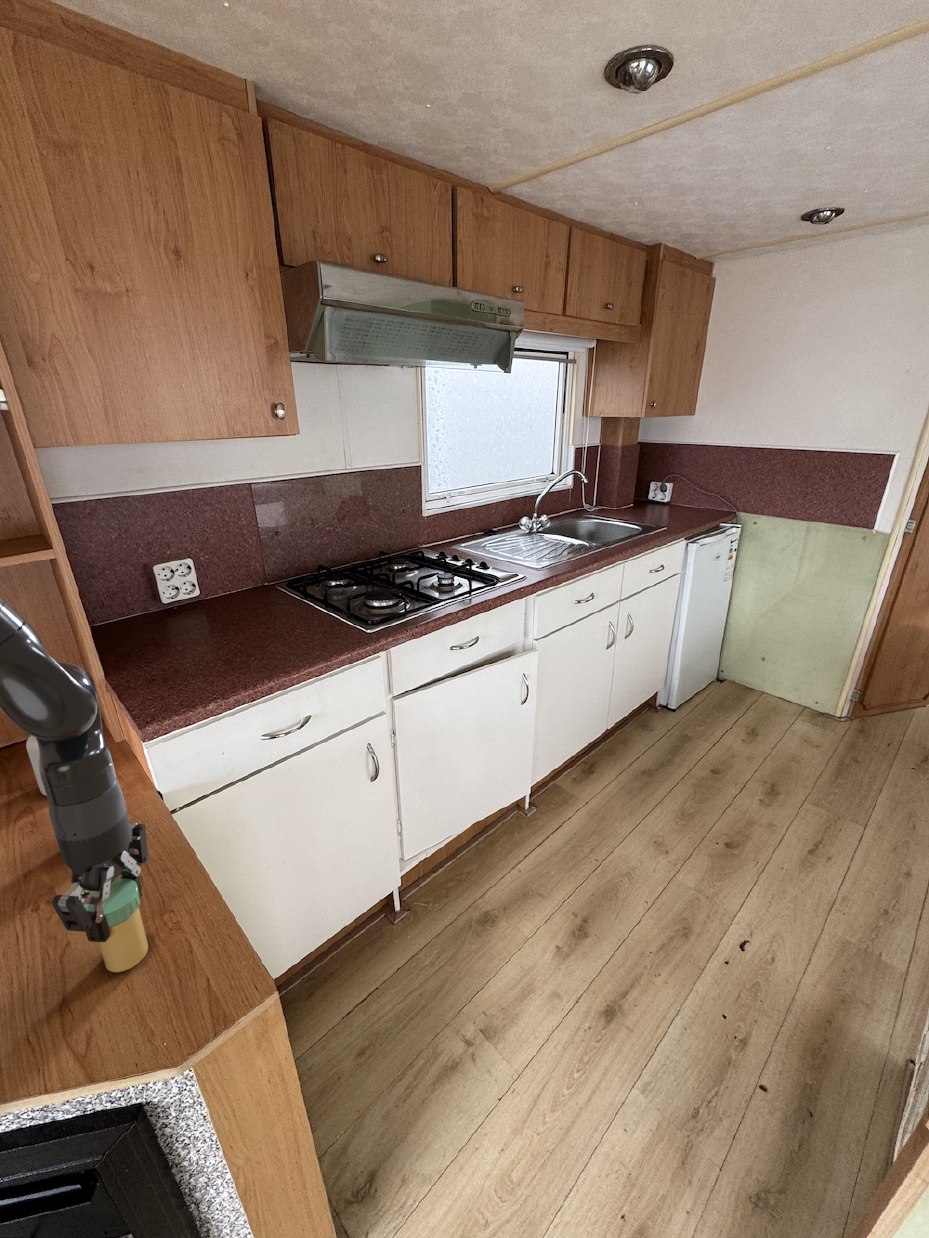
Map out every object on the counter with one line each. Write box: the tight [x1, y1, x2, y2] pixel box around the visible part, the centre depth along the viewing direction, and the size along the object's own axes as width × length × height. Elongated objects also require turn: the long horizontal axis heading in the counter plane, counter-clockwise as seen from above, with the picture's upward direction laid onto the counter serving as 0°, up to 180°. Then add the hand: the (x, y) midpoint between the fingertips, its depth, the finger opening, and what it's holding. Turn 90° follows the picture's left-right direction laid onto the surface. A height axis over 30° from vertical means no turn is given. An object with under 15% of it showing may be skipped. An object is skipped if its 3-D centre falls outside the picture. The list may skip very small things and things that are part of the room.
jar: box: [98, 906, 149, 973], centre depth 73 cm, size 5×5×10 cm
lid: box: [89, 878, 142, 927], centre depth 72 cm, size 6×6×2 cm
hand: (118, 917), depth 73 cm, fingers closed on lid, 6 cm apart
